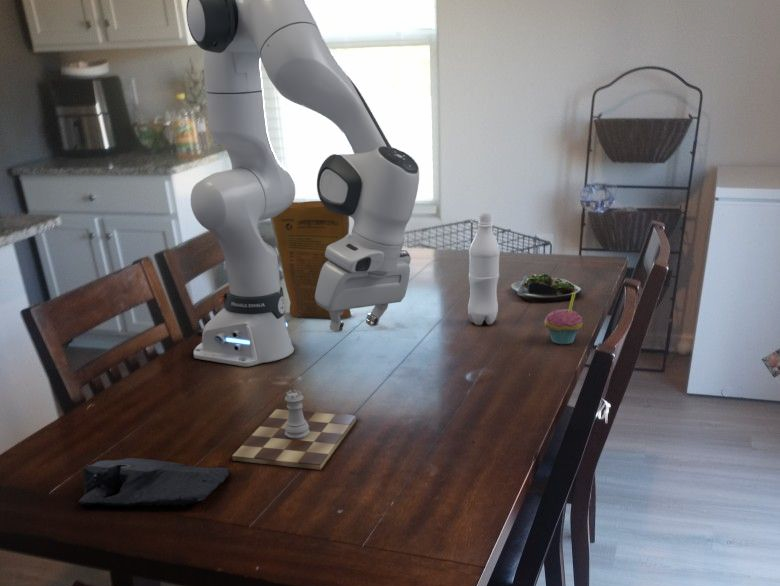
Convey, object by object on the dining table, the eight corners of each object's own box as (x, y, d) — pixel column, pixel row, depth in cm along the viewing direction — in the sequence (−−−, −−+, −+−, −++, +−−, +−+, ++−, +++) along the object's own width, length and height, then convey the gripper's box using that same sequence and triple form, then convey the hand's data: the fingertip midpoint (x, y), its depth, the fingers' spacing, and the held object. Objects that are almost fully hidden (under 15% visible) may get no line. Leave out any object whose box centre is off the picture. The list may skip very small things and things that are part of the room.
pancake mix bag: (351, 322, 206) (344, 203, 191) (278, 318, 210) (266, 201, 196) (359, 314, 212) (353, 197, 197) (288, 310, 216) (277, 196, 201)
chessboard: (232, 460, 144) (231, 455, 144) (276, 413, 161) (276, 408, 160) (320, 470, 140) (320, 464, 140) (356, 420, 157) (356, 415, 156)
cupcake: (585, 337, 192) (590, 285, 186) (576, 349, 186) (580, 295, 179) (548, 333, 195) (552, 281, 189) (538, 344, 189) (541, 291, 183)
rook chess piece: (290, 442, 147) (286, 399, 143) (281, 432, 151) (276, 391, 147) (313, 436, 149) (310, 394, 145) (304, 427, 152) (300, 386, 148)
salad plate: (497, 285, 230) (498, 268, 228) (558, 279, 233) (560, 262, 231) (522, 305, 214) (523, 287, 211) (587, 299, 217) (589, 281, 215)
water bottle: (496, 327, 200) (499, 218, 187) (466, 326, 201) (467, 217, 188) (498, 318, 206) (502, 211, 193) (469, 317, 207) (471, 211, 194)
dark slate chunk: (201, 518, 128) (197, 491, 125) (70, 507, 132) (63, 481, 129) (237, 471, 141) (233, 446, 138) (116, 463, 145) (110, 438, 142)
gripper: (399, 242, 150) (379, 314, 158) (318, 247, 136) (301, 325, 143) (425, 256, 148) (403, 328, 155) (345, 263, 133) (326, 342, 141)
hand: (353, 327), depth 149 cm, fingers open, 8 cm apart
